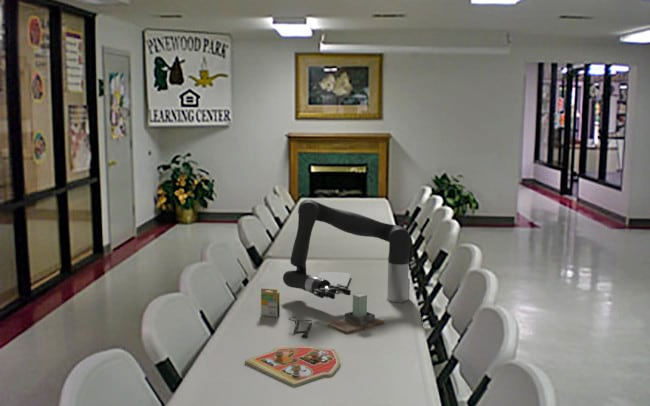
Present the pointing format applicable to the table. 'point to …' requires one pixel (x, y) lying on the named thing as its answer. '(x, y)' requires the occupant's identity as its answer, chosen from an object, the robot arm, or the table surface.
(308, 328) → the hacksaw
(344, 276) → the tablet
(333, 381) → the table surface
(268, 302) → the crayon box
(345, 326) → the tool stand
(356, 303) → the peg block
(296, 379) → the knob puzzle
